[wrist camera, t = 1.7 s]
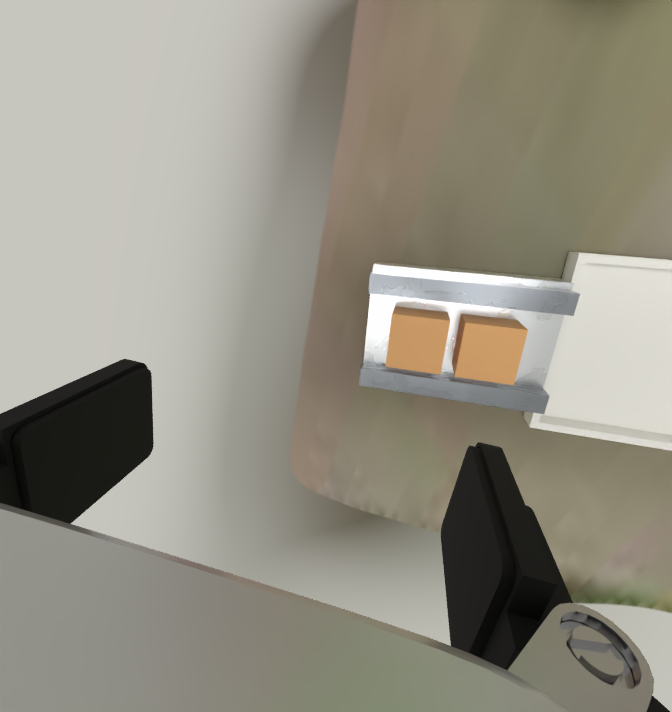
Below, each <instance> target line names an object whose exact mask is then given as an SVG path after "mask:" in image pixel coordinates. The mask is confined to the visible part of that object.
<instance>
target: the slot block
mask: <svg viewBox="0 0 672 712" xmlns="http://www.w3.org/2000/svg"><path fill="white" fill-rule="evenodd" d="M573 284H574V283H572V282H569V281H566V280H563V279H560V278H552V277H541V276H530V275H520V274H509V273H498V272H487V271H477V270H466V269H455V268H444V267H433V266H423V265H412V264H401V263H390V262H380V261H378V262H376V263H375V264H374V265H373V271H372V272H371V273H370V281H369V291H368V293H369V294H370V303H369V313H368V323H367V332H366V342H365V351H364V361H363V364H362V366H361V369H360V379H359V385H360V386H367V387H373V388H380V389H386V390H392V391H399V392H405V393H411V394H418V395H424V396H431V397H437V398H443V399H450V400H456V401H463V402H469V403H475V404H482V405H488V406H494V407H501V408H507V409H514V410H520V411H526V412H533V413H539V414H544V413H545V410H546V406H547V403H548V400H549V395H548V393H547V392H546V391H545V390H544V388H543V387H544V384H545V380H546V377H547V373H548V370H549V366H550V363H551V360H552V356H553V353H554V349H555V346H556V342H557V339H558V335H559V332H560V329H561V325H562V322H563V318H564V315H570V316H574V313H575V309H576V306H577V303H578V299H579V296H580V294H579V293H577V292H574V291H572V287H573ZM395 306H400V307H408V308H417V309H426V310H435V311H443V312H448V315H449V318H450V326H449V331H448V337H447V342H446V348H445V353H444V359H443V364H442V370H441V375H440V374H433V373H426V372H419V371H412V370H405V369H398V368H392V367H385V365H386V357H387V350H388V342H389V334H390V326H391V318H392V313H393V310H394V307H395ZM461 314H470V315H478V316H487V317H496V318H505V319H513V320H518V321H519V322H520V323H521V324H522V325H523V326H524V327H525V328H527V329H528V333H527V337H526V341H525V345H524V348H523V352H522V356H521V360H520V364H519V368H518V372H517V375H516V379H515V383H514V385H509V384H502V383H495V382H488V381H481V380H474V379H467V378H460V377H455V376H454V371H453V367H452V358H453V353H454V348H455V342H456V337H457V332H458V327H459V321H460V316H461Z"/></svg>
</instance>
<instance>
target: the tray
mask: <svg viewBox="0 0 672 712" xmlns="http://www.w3.org/2000/svg"><path fill="white" fill-rule="evenodd" d="M561 279H563V280H566V281H569V282H572V283H574V284H573V287H572V291H574V292H577V293H579V294H580V296H579V299H578V303H577V306H576V309H575V313H574V316H570V315H564V318H563V322H562V325H561V329H560V332H559V335H558V339H557V342H556V346H555V349H554V353H553V356H552V360H551V363H550V366H549V370H548V373H547V377H546V380H545V384H544V387H543V388H544V390H545V391H546V392H547V393H548V395H549V400H548V403H547V406H546V410H545V413H544V414H539V413H533V412H526V411H524V415H523V417H524V419H525V420H526V422H527V424H528V426H529V427H530V428H536V429H542V430H548V431H554V432H561V433H567V434H573V435H579V436H585V437H591V438H597V439H603V440H609V441H616V442H622V443H628V444H634V445H640V446H646V447H652V448H658V449H664V450H671V451H672V260H669V259H656V258H644V257H631V256H619V255H607V254H594V253H582V252H569V253H568V256H567V260H566V263H565V267H564V271H563V274H562V278H561Z"/></svg>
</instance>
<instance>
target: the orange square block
mask: <svg viewBox="0 0 672 712" xmlns="http://www.w3.org/2000/svg"><path fill="white" fill-rule="evenodd" d="M527 333H528V329H527V328H525V327H524V326H523V325H522V324H521V323H520V322H519V321H518V320H513V319H505V318H496V317H487V316H478V315H470V314H461V316H460V321H459V327H458V332H457V337H456V342H455V348H454V353H453V358H452V367H453V371H454V376H455V377H460V378H467V379H474V380H481V381H488V382H495V383H502V384H509V385H514V383H515V379H516V375H517V372H518V368H519V364H520V360H521V356H522V352H523V348H524V345H525V341H526V337H527Z"/></svg>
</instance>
